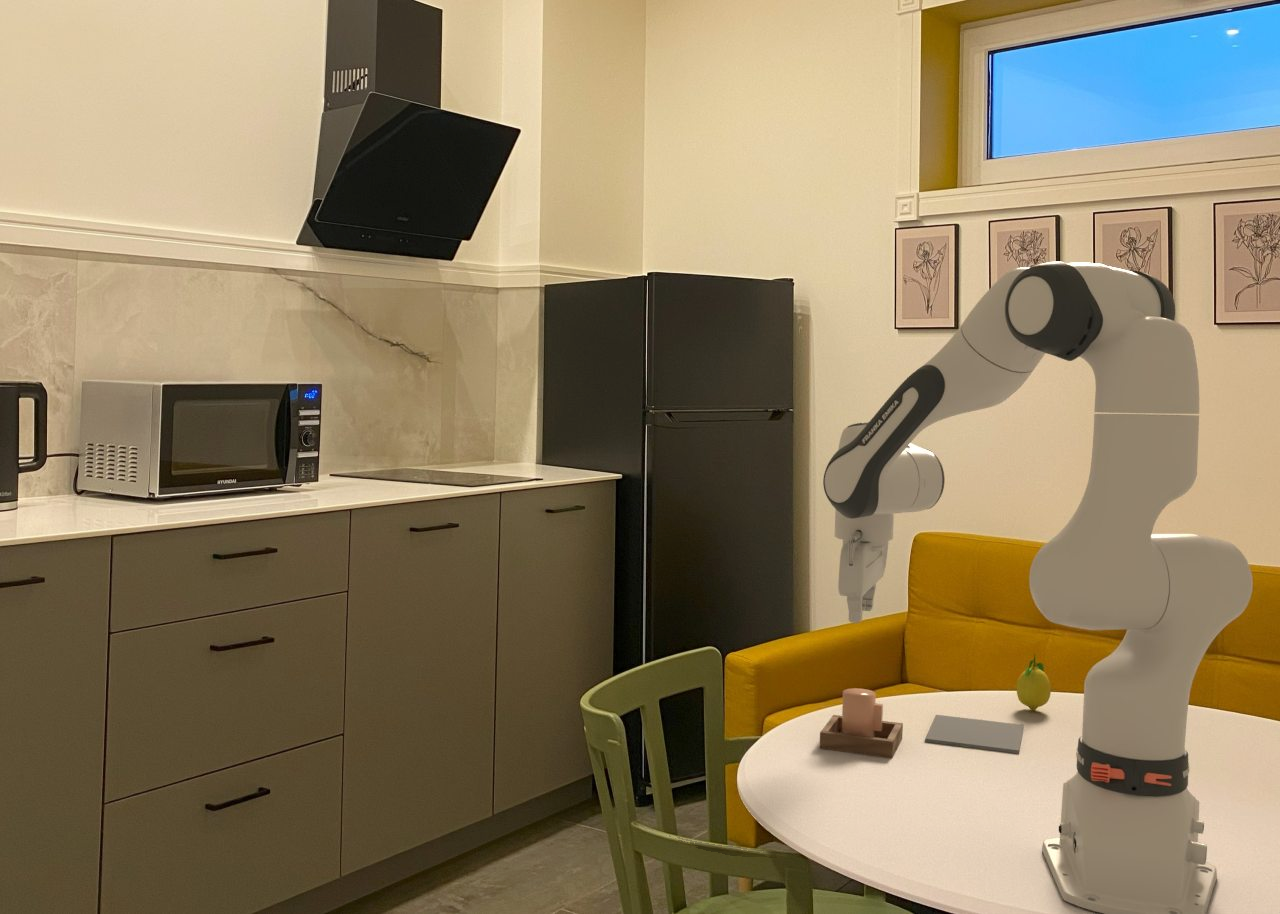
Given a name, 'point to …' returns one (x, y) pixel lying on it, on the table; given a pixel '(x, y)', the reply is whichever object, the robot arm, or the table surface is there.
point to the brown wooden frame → (862, 739)
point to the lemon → (1033, 686)
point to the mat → (975, 733)
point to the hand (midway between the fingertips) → (861, 615)
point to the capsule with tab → (861, 712)
